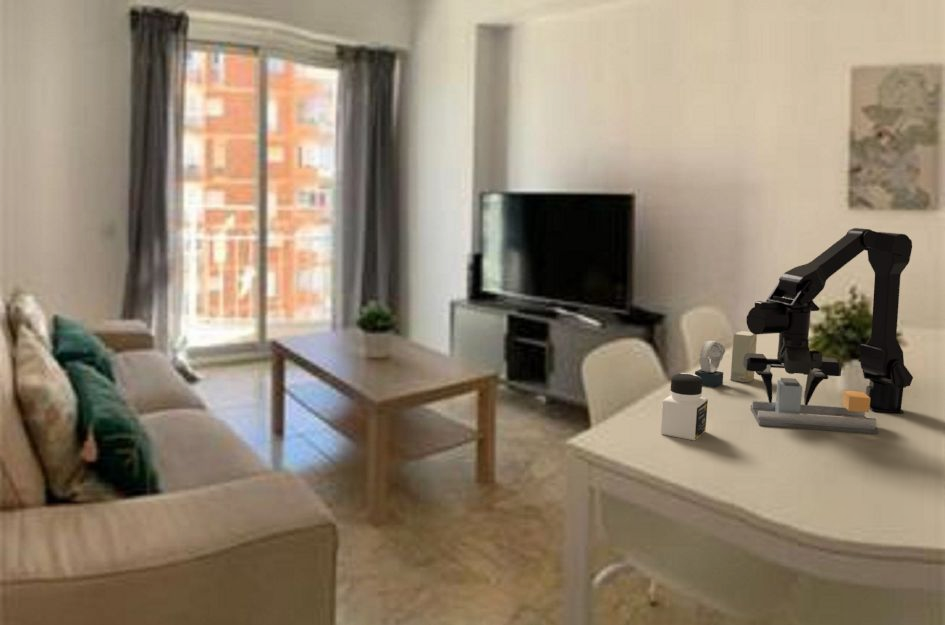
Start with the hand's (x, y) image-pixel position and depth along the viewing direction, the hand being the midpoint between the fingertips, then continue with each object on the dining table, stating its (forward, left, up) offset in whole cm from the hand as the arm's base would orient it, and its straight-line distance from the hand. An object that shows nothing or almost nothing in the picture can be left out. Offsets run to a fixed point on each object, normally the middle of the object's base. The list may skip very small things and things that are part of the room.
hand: (787, 403), depth 170 cm
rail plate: (-5, 0, -4) cm, 6 cm away
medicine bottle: (+23, +15, -4) cm, 27 cm away
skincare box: (+5, -34, -4) cm, 34 cm away
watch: (+14, -27, -4) cm, 30 cm away
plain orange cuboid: (-14, 0, 0) cm, 14 cm away
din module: (0, 0, -2) cm, 2 cm away
